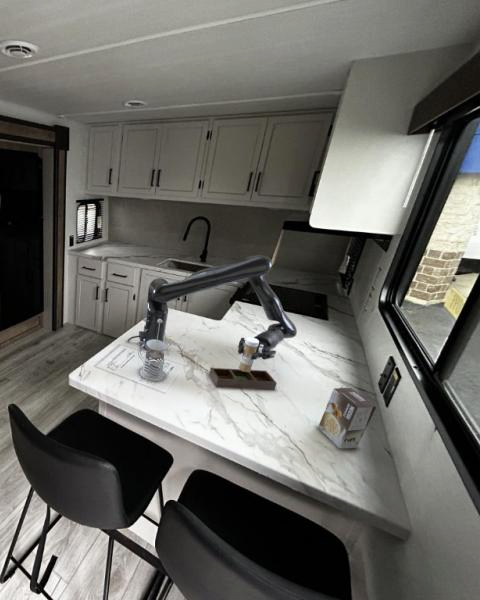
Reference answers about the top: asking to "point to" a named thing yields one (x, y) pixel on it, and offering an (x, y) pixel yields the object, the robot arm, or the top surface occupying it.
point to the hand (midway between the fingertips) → (245, 354)
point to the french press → (155, 352)
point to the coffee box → (346, 417)
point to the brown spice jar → (248, 354)
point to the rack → (242, 379)
